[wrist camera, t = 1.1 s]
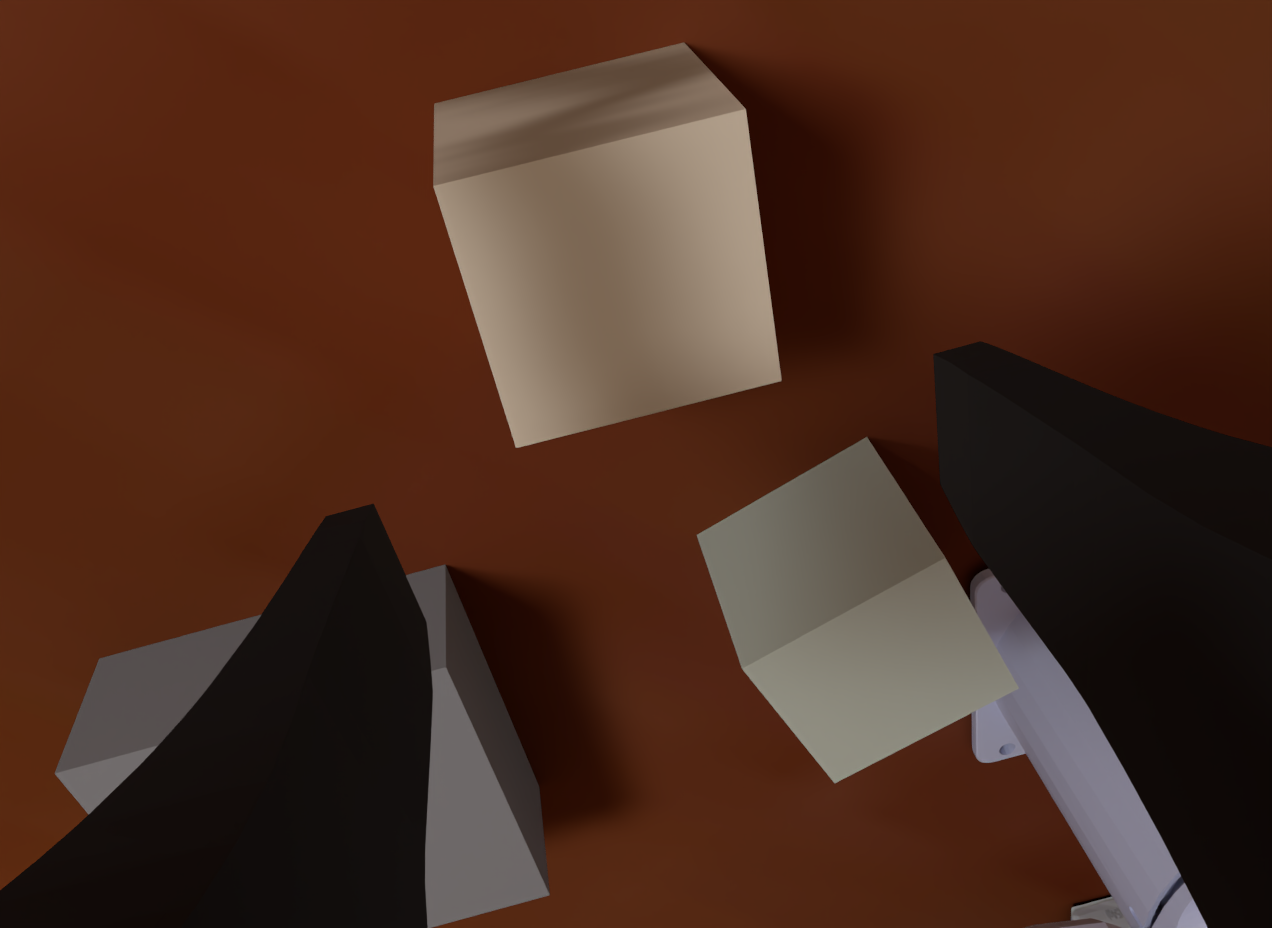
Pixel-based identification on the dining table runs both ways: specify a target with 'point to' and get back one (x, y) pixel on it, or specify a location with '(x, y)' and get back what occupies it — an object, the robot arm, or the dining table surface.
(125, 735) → the base block
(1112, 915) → the tea box
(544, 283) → the maple cube
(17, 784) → the dining table surface
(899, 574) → the sage block
